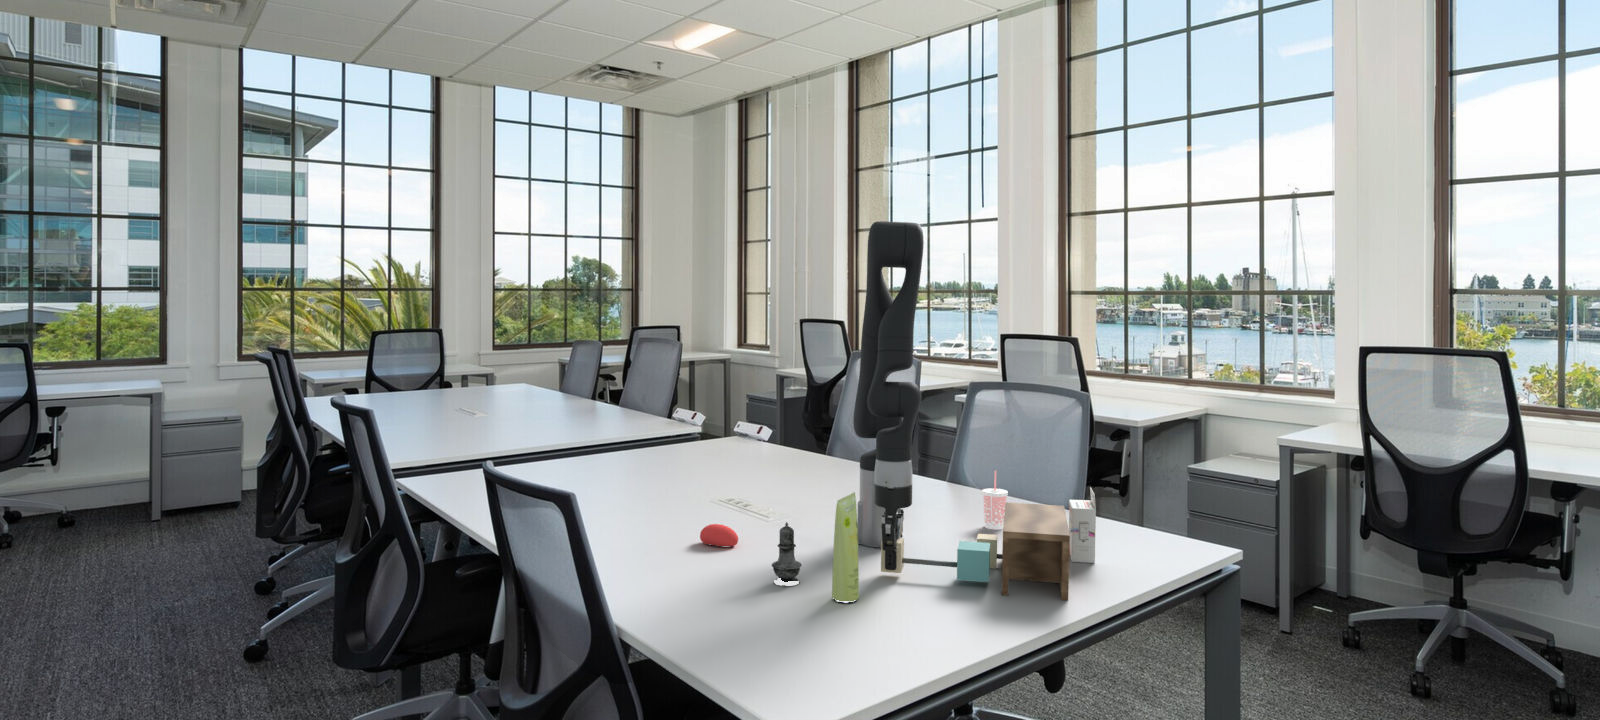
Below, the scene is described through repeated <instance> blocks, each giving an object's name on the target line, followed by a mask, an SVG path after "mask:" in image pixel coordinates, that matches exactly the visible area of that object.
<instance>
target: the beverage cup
mask: <svg viewBox="0 0 1600 720" xmlns="http://www.w3.org/2000/svg"><path fill="white" fill-rule="evenodd" d="M993 476H994V479H993V481H994V482H993V484H994V485H993V488H990V487H989V488H983V489H982V491H981V492H982V493H981V494H982V495H983V515H984V517H983V520H984V523H983V524H984V527H985V528H986V529H987V530H1003V525H1004V514H1005V503H1006V502H1007V498H1008V493H1009V492H1008V490H1007V489H1003V488H997V470H994V475H993Z"/></svg>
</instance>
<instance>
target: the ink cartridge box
mask: <svg viewBox="0 0 1600 720" xmlns="http://www.w3.org/2000/svg"><path fill="white" fill-rule="evenodd" d="M1089 490H1090V491H1089V492H1090V500H1087V499H1068V500H1069V501H1068V506H1069V507H1068V510H1069V511H1068V512H1069V513H1068V529H1069V534H1070V548H1069V558H1070V560H1071V562H1072V563H1086V564H1087V563H1088V564H1096V563H1095V562H1096V530H1097V529H1096V527H1097V526H1096V523H1097V521H1096V520H1097V519H1096V518H1097V517H1096V516H1097V515H1096V514H1097V509H1096V508H1097V506H1096V496H1095V492H1094V491H1093V489H1092V487H1089Z"/></svg>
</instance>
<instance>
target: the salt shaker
mask: <svg viewBox="0 0 1600 720" xmlns="http://www.w3.org/2000/svg"><path fill="white" fill-rule="evenodd" d="M796 546H797V545H796V543H795V530H794V528H793V527H791V526H789V523H788V522H785V524H784V526H783V527H781V528H780V529H779V543H778V544H777V547H778V559H777V560H776V561H773V562H772V564H771V567H772V568H773V569H772V571H773V573H774V574H775V576H776V577H777V578H781V580H782V581H784V582H788V581H798V580H799V579H798V578H797V576H798V575H799V574H800V571H801V567H802V566H803V565H802V563H801V562H800V561H797V560H796V557H795V548H796Z"/></svg>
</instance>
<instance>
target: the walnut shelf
mask: <svg viewBox="0 0 1600 720" xmlns="http://www.w3.org/2000/svg"><path fill="white" fill-rule="evenodd" d="M1065 510H1066V508H1065V505H1056V504H1054V505H1053V504H1041V503H1040V504H1039V503H1038V504H1037V503H1020V502H1007V501H1006V503H1005V514H1004V525H1003V529H1002V552H1001V553H1002V559H1001V562H1002V563H1001V564H1002V565H1001V596H1009V582H1010V581H1009V580H1016V581H1017V580H1018V581H1031V582H1040V583H1041V582H1042V583H1043V582H1044V583H1055V584H1056V583H1057V584H1059V592H1060V600H1061V601H1069V587H1070V586H1069V585H1070V584H1069V583H1070V582H1069V581H1070V580H1069V579H1070V576H1069V575H1070V554H1069V548H1070V534H1069V523H1068V521H1067V520H1068V519H1067V514H1066V511H1065Z"/></svg>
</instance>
